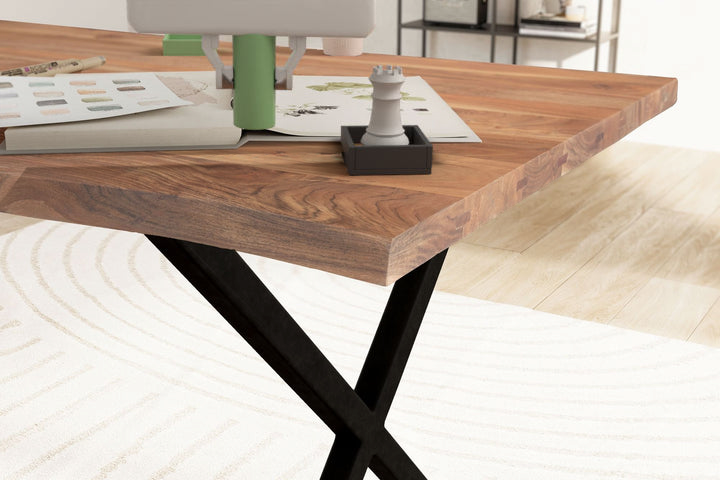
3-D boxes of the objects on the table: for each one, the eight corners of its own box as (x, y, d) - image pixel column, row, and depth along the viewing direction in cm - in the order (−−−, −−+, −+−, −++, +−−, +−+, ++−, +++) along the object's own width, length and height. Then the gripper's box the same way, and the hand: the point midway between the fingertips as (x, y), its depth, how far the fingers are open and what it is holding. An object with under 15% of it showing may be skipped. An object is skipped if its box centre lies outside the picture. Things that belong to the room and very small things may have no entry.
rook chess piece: (372, 166, 76) (375, 74, 73) (351, 152, 80) (353, 64, 77) (417, 161, 78) (422, 71, 75) (395, 148, 82) (399, 61, 79)
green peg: (233, 129, 75) (231, 33, 72) (233, 119, 78) (232, 27, 75) (275, 130, 75) (276, 34, 72) (274, 119, 78) (275, 28, 75)
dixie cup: (366, 59, 126) (368, -13, 122) (309, 56, 127) (309, -16, 123) (374, 49, 133) (376, -19, 130) (320, 47, 135) (320, -22, 131)
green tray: (163, 58, 123) (162, 40, 122) (167, 49, 130) (166, 32, 129) (215, 58, 124) (214, 40, 123) (217, 49, 131) (216, 32, 130)
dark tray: (349, 175, 76) (349, 147, 75) (340, 151, 82) (340, 125, 81) (431, 174, 76) (433, 146, 76) (416, 150, 83) (417, 124, 82)
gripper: (377, -81, 74) (370, 82, 79) (128, -91, 72) (137, 79, 77) (388, -78, 68) (379, 98, 74) (117, -88, 66) (128, 95, 71)
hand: (253, 88), depth 75 cm, fingers closed on green peg, 3 cm apart
